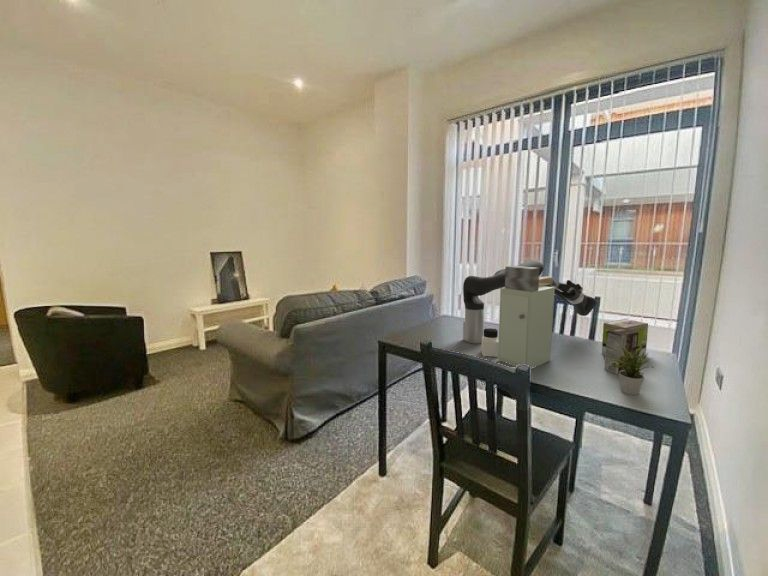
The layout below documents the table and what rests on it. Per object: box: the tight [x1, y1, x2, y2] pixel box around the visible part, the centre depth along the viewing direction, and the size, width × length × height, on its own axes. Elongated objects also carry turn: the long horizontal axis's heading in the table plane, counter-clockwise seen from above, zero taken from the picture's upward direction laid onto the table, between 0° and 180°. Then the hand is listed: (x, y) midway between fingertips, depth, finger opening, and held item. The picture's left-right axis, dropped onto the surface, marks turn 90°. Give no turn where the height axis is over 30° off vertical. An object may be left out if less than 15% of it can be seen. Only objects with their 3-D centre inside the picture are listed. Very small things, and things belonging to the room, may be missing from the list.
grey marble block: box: [505, 265, 554, 292], centre depth 146 cm, size 12×24×9 cm, turn 126°
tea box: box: [601, 318, 649, 357], centre depth 153 cm, size 15×10×15 cm
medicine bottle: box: [480, 327, 499, 358], centre depth 157 cm, size 7×7×12 cm
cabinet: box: [497, 286, 555, 369], centre depth 147 cm, size 14×19×32 cm
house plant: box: [609, 344, 656, 396], centre depth 120 cm, size 14×14×16 cm
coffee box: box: [603, 328, 639, 375], centre depth 136 cm, size 9×6×16 cm
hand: (558, 280), depth 158 cm, fingers open, 8 cm apart
